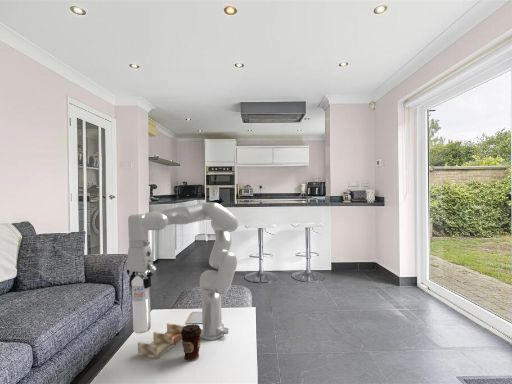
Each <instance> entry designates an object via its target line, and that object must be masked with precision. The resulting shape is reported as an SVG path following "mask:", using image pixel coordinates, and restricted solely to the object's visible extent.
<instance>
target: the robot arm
mask: <svg viewBox="0 0 512 384" xmlns="http://www.w3.org/2000/svg"><path fill="white" fill-rule="evenodd" d="M127 220H128V221H127V225H128V226H127V227H128V231H127V232H128V249H127V257H126V258H127V263H126V264H125V266H124V267H123V268H124V270H125V271H126V274H127V275H128V277H129V287H130V288H132V283H131V282H132V280H133V278H134V277H135V276H136V275H137V273H138V272H142V274H144V276H145V279H144V288H145V289H146V288H148V287H149V288H150V287H152V277H153V275H154V273H155V272H156V271H157V267H156V266H154V261H153V260H154V259H153V253H152V249H151V246H149V245H150V244H151V243H150V241H149V231H161V230H163V229H165V228H166V227H167V226H171V225H181V226H182V225H188V224H193V223H197V222H201V221H205V220H206V221H208V220H210V225H211V227H212V230H213V231H214V234H215V238H214V239H215V240H214V244H213V247H212V249H211V252H210V256H209V259H208V264H209V266H211V268H213V269H218V270H212V269H206V270H205V271H204V272H202V273H201V274H200V276H199V287H200V293H201V313H202V314H201V315H202V317H201V318H202V319H201V320H202V329H201V330H202V331H201V335H200V339H203V340H206V341H215V340H218V339H220V338H223V337H224V336H225V335H228V334H229V328H228V327H225V325H224V323H223V321H222V320H223V318H222V315H223V314H222V295H224V294H226V293H227V292H228V291H229V290H230V287H231V285H232V283H233V280H234V276H235V272H236V269H237V265H238V258H237V256H236V254H235V253H234V252H232V251H230V250H231V245H232V240H233V239H232V235H231V234H232V233H233V232H235V231H236V230H237V228H238V227H239V221H238V218H237V217H236V216H235V215H234V214H233V213H232V212H230V211H229V210H228V209H227V208H225V207H224V206H223V205H222V204H219V203H218V202H210V201H209V202H207V201H206V202H205V201H204V202H200V203H199V202H198V203H195V204H188V205H184V206H183V205H182V206H177V207H172V208H166V209H160V210H155V211H153V210H152V211H149V212H146V213H145V214H143V213H140V214H138V213H137V214H131V215H129V216H128V218H127Z"/></svg>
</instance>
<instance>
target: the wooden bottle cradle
mask: <svg viewBox="0 0 512 384" xmlns="http://www.w3.org/2000/svg"><path fill="white" fill-rule="evenodd" d="M184 326H185V325H181V324H175V323H169V322H168V323H166V331H165V333H163V332H156V331H153V335H152V336H153V341H152V342H150V343H146V342H140V341H139V342H137V355H138V356H143V357H147V358H151V359H155V360H157V359H158V358H159V357H161V356H162V355H163V354H164V353H166V352H167V351H168V350H169V349H171V348H172V347H173V346H176V345H178V344H179V343H180V342H181V341H182V335H181V331H182V329H183V327H184Z"/></svg>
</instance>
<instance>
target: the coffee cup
mask: <svg viewBox="0 0 512 384" xmlns="http://www.w3.org/2000/svg"><path fill="white" fill-rule="evenodd" d="M183 326H184V327H183V329H182V331H181V335H182V340H181V341H182V350H183V353H184V355H183V358H184V360H185V361H188V362H192V361H197V360H198V359H199V358H200V354H199V353H200V352H199V351H200V349H201V337H200V335H201V331H202V329H201V327H200V324H196V323H195V324H194V323H193V324H187V325H183Z"/></svg>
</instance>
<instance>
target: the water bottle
mask: <svg viewBox="0 0 512 384" xmlns="http://www.w3.org/2000/svg"><path fill="white" fill-rule="evenodd" d="M135 275H136V276H135V277H134V278H133V280H132V282H131V283H132V287H131V294H132V295H131V296H132V297H131V298H132V300H131V302H132V303H131V304H132V305H131V306H132V324H133V325H132V327H133V332H134V334H144V333H147V332H149V331H150V330H151V327H152V324H151V323H152V322H151V299H150V287H148V288H146V289H145V288H144V279H145V276H144V274H143V272H137V273H136V274H135Z"/></svg>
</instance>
